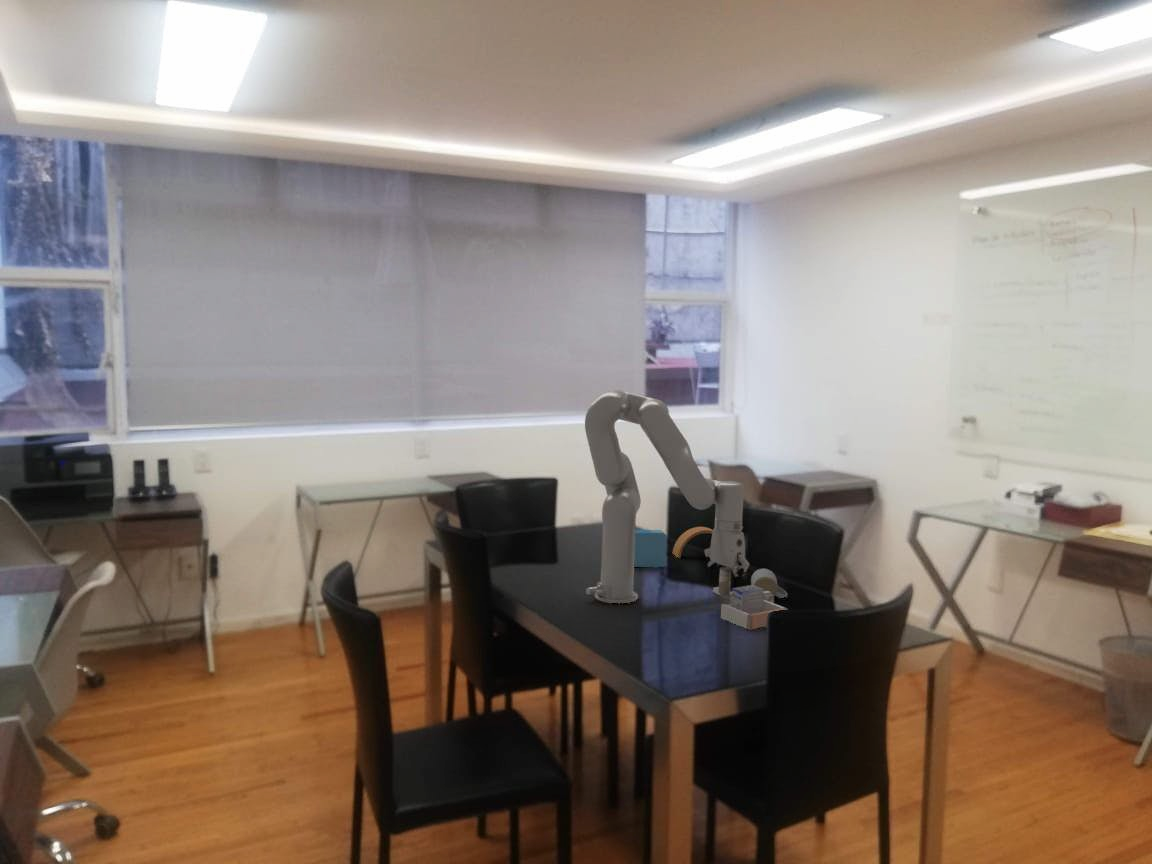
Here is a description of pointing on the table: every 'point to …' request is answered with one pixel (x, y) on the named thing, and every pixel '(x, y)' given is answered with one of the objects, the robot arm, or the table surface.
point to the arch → (688, 538)
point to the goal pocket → (749, 615)
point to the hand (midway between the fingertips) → (724, 585)
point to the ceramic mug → (767, 582)
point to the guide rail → (716, 590)
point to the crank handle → (726, 582)
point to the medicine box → (747, 599)
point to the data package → (650, 548)
